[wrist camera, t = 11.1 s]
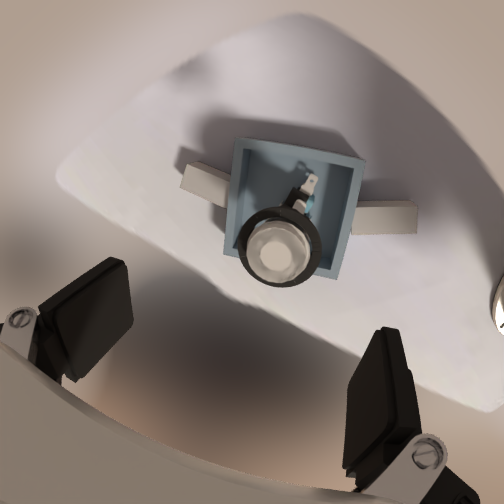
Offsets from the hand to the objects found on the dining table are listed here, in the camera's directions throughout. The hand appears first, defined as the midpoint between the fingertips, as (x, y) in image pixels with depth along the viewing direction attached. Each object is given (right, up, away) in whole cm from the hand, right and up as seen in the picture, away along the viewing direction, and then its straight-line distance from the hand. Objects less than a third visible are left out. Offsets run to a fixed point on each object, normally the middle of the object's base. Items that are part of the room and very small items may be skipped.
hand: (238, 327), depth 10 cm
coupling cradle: (+4, +7, +16) cm, 18 cm away
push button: (+5, +7, +16) cm, 18 cm away
